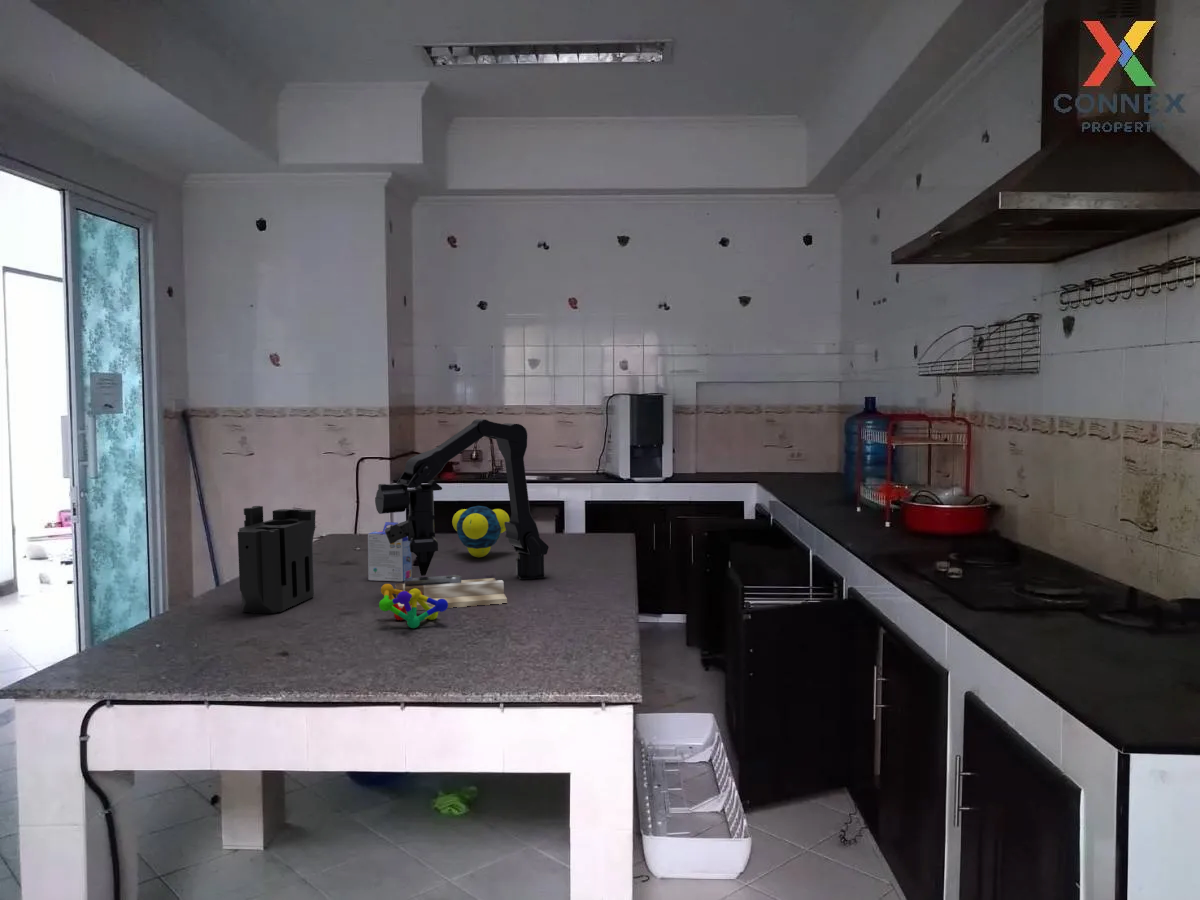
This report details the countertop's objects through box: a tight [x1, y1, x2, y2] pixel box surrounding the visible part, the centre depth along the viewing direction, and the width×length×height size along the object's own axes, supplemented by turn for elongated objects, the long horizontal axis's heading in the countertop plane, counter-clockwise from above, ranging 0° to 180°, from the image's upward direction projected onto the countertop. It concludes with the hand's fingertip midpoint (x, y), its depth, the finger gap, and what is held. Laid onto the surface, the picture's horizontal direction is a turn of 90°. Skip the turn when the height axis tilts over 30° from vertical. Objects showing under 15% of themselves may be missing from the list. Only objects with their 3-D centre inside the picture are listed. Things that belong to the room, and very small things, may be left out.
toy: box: [451, 505, 511, 558], centre depth 241 cm, size 16×17×15 cm
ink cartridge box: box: [367, 521, 413, 582], centre depth 214 cm, size 10×6×14 cm, turn 78°
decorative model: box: [378, 583, 449, 629], centre depth 173 cm, size 13×9×15 cm
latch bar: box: [404, 574, 462, 586], centre depth 194 cm, size 13×4×3 cm, turn 105°
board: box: [394, 577, 508, 611], centre depth 196 cm, size 24×22×4 cm
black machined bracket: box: [237, 505, 317, 614], centre depth 188 cm, size 12×21×22 cm, turn 169°
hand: (423, 575), depth 200 cm, fingers closed
